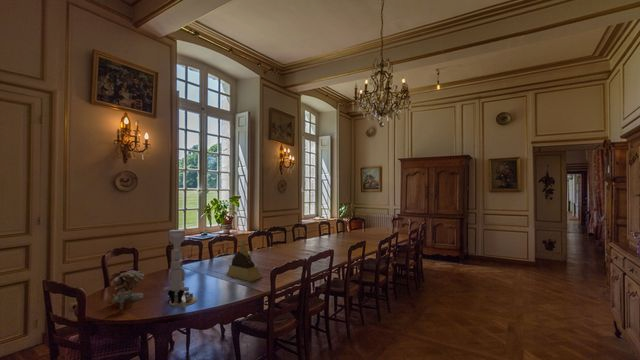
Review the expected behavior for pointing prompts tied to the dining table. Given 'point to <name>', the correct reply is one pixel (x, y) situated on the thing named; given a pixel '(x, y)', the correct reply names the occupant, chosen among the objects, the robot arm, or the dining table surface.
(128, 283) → the cherub figurine
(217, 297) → the dining table surface
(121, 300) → the mechanical component
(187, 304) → the flange plate
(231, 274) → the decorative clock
